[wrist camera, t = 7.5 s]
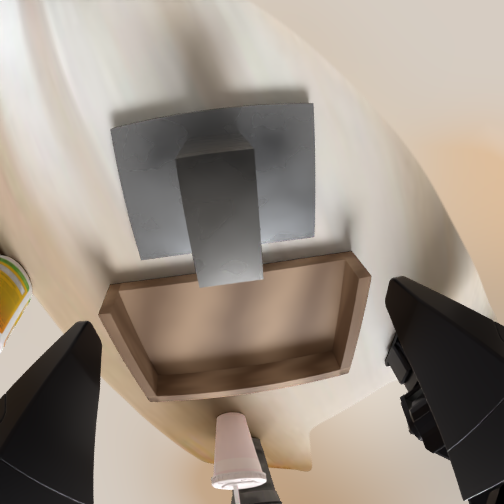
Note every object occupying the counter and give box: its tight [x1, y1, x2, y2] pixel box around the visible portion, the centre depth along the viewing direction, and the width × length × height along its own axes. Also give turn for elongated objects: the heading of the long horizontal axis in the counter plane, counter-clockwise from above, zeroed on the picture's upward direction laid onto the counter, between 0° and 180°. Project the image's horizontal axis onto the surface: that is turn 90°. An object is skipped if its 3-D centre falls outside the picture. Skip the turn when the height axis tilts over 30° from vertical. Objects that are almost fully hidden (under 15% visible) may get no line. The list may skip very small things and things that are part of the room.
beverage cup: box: [231, 438, 282, 504], centre depth 29 cm, size 7×7×20 cm
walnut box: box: [98, 251, 372, 402], centre depth 23 cm, size 19×12×4 cm, turn 95°
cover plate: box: [111, 103, 315, 288], centre depth 15 cm, size 12×9×7 cm
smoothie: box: [211, 412, 267, 504], centre depth 27 cm, size 6×6×14 cm
